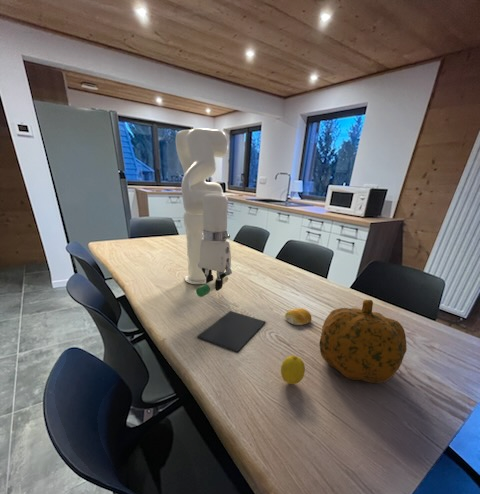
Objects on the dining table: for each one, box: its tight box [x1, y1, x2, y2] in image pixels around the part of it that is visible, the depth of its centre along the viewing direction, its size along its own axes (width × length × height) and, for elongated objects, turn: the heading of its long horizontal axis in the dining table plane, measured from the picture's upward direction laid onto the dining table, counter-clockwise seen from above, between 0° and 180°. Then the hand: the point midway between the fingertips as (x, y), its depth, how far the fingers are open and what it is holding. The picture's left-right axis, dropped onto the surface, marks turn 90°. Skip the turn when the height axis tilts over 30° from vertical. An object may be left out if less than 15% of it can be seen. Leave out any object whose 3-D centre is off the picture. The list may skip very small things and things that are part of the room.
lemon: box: [280, 355, 306, 385], centre depth 63 cm, size 6×6×8 cm
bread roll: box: [284, 308, 312, 326], centre depth 93 cm, size 8×9×4 cm
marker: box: [195, 276, 229, 298], centre depth 91 cm, size 15×3×3 cm, turn 152°
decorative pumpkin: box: [318, 299, 408, 384], centre depth 67 cm, size 20×21×20 cm
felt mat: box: [197, 310, 266, 353], centre depth 85 cm, size 20×14×1 cm
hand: (214, 287), depth 92 cm, fingers closed on marker, 3 cm apart
